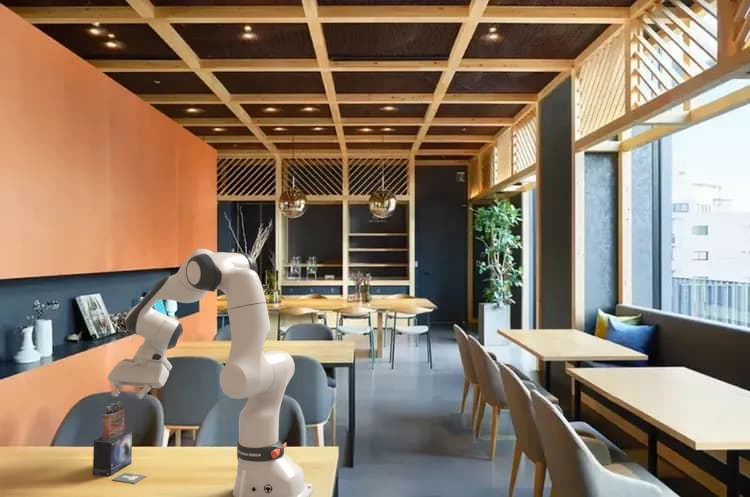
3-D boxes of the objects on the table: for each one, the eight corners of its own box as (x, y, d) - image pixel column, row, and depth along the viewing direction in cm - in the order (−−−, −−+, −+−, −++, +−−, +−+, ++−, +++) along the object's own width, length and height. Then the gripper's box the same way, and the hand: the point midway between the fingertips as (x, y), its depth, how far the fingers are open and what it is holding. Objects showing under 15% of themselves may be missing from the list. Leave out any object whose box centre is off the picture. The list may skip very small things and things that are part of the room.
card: (146, 476, 162) (146, 475, 162) (134, 483, 158) (134, 482, 158) (124, 473, 165) (124, 472, 165) (112, 480, 160) (112, 479, 160)
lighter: (108, 440, 164) (108, 407, 164) (99, 439, 165) (99, 406, 165) (127, 431, 172) (127, 400, 172) (118, 430, 173) (118, 399, 173)
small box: (110, 477, 162) (110, 442, 162) (91, 475, 164) (91, 440, 164) (132, 463, 173) (133, 430, 173) (115, 461, 174) (115, 429, 174)
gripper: (116, 353, 184) (94, 389, 174) (168, 356, 178) (148, 393, 169) (126, 363, 188) (104, 399, 179) (176, 367, 183) (157, 404, 173)
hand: (126, 396), depth 174 cm, fingers open, 8 cm apart
